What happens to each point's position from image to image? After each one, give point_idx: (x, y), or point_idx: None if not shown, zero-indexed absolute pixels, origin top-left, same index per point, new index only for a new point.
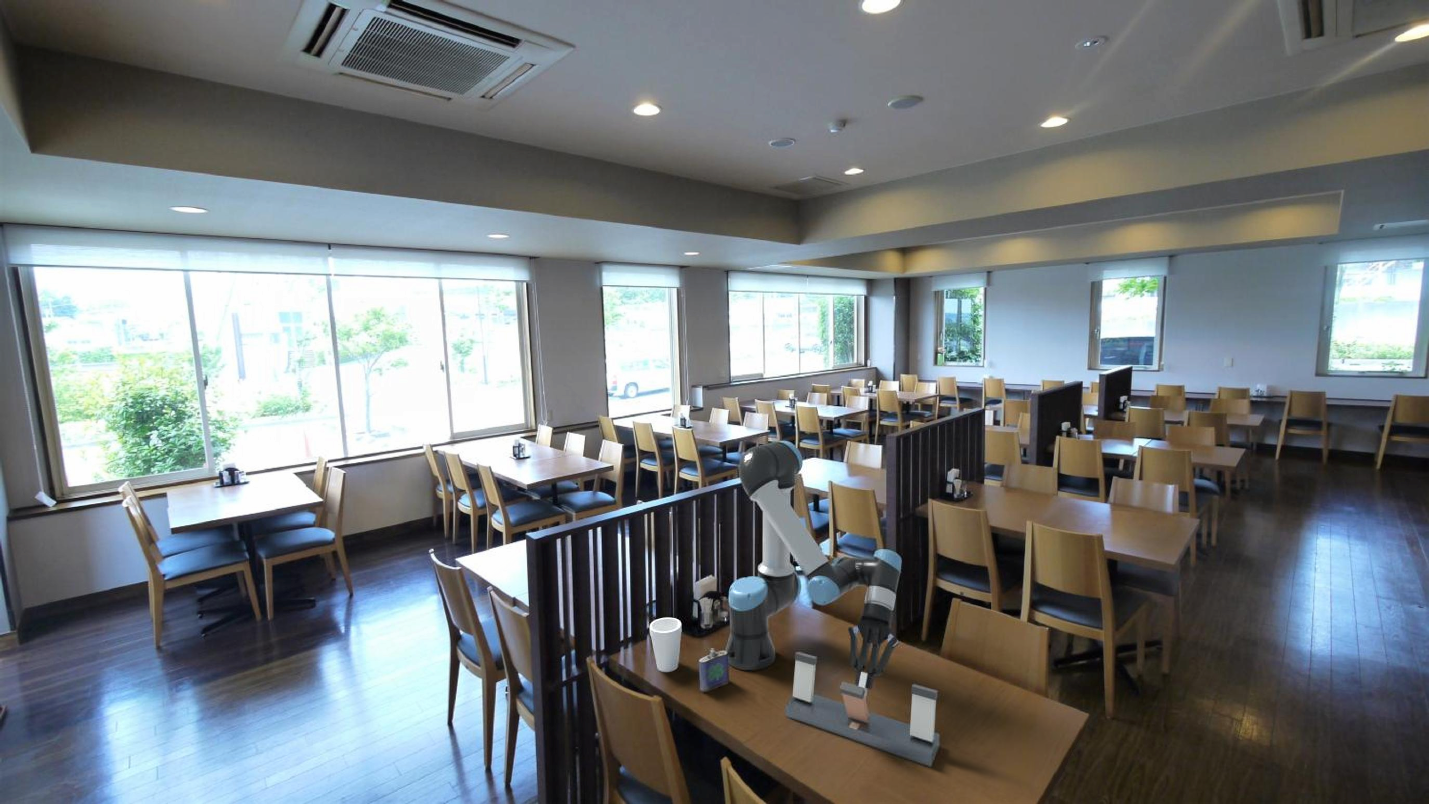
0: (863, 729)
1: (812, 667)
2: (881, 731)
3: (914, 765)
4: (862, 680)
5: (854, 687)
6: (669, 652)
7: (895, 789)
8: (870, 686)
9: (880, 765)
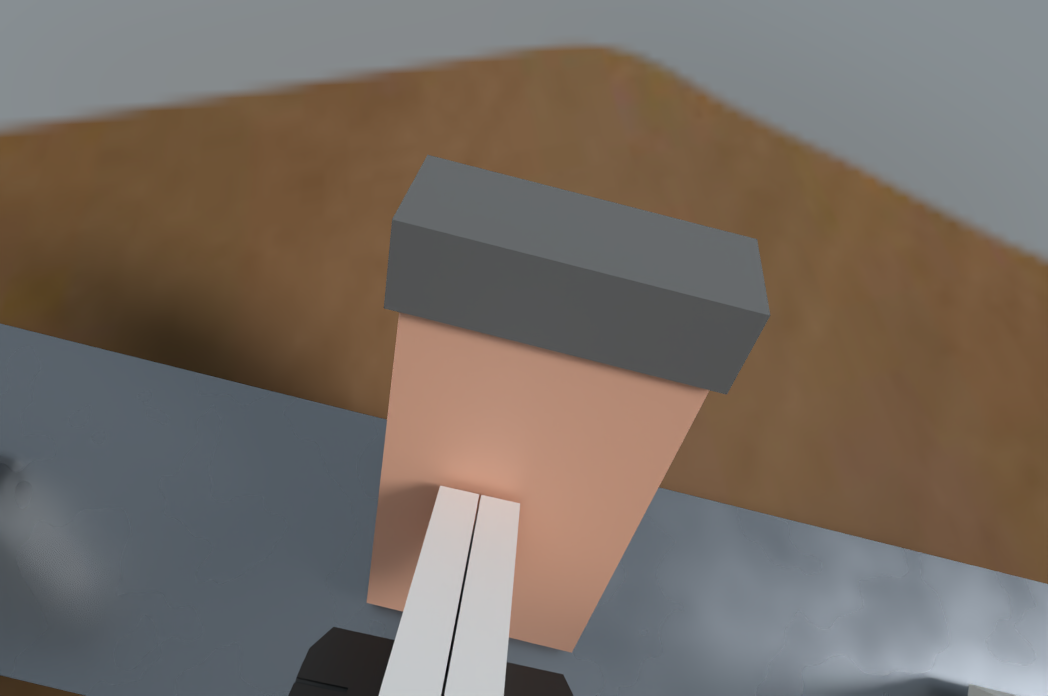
0: None
1: None
2: (261, 474)
3: (57, 325)
4: (450, 676)
5: (548, 233)
6: None
7: (218, 119)
8: (311, 649)
9: (299, 275)
